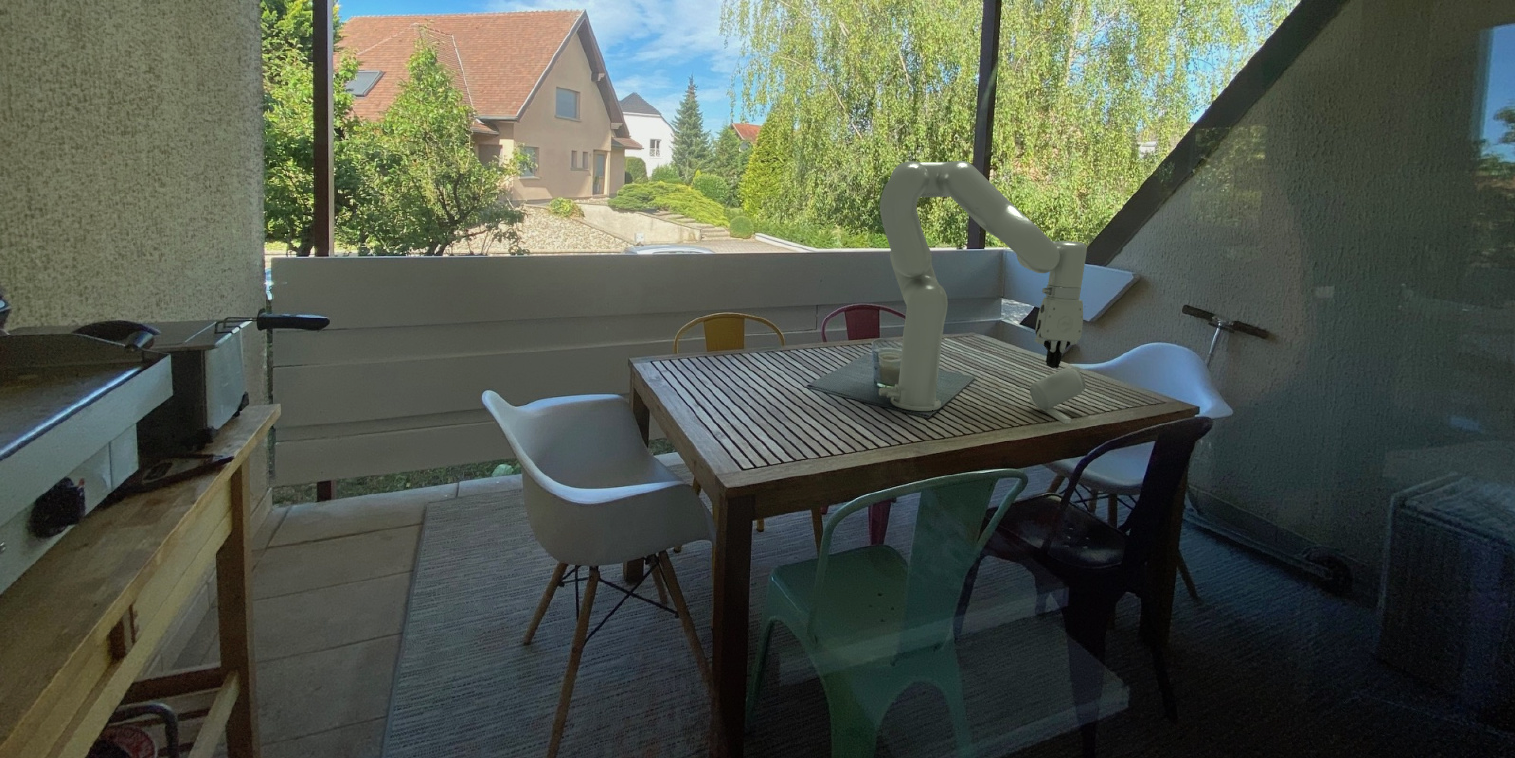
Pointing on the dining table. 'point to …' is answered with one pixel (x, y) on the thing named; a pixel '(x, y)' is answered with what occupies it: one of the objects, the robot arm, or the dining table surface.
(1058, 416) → the stop strip
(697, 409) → the dining table surface
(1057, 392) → the can
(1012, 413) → the dining table surface
